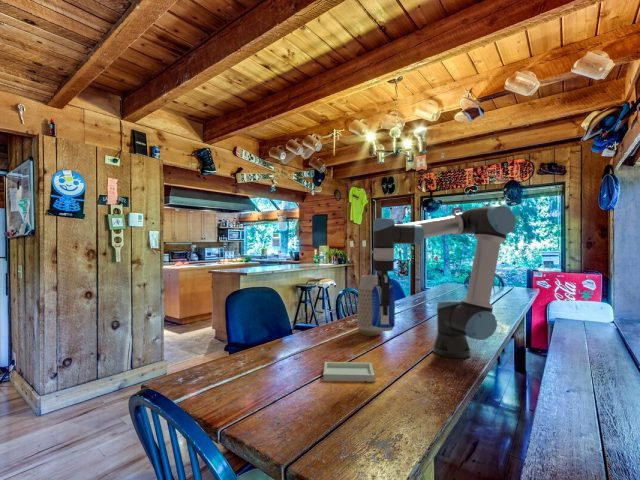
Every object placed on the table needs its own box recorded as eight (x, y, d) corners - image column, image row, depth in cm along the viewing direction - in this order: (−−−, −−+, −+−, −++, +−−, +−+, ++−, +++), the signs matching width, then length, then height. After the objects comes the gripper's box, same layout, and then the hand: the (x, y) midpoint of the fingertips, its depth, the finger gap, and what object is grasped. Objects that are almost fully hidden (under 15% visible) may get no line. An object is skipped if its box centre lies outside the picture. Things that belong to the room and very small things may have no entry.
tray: (371, 368, 129) (371, 362, 129) (374, 381, 117) (374, 375, 117) (324, 367, 130) (324, 361, 130) (323, 380, 118) (323, 374, 118)
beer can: (394, 332, 119) (395, 287, 119) (371, 330, 121) (371, 286, 121) (394, 326, 127) (394, 284, 127) (372, 325, 129) (372, 283, 129)
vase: (387, 332, 180) (386, 275, 180) (377, 338, 169) (376, 277, 169) (363, 328, 188) (363, 274, 188) (352, 334, 176) (352, 276, 176)
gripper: (370, 258, 135) (370, 314, 135) (376, 261, 114) (376, 328, 114) (389, 258, 134) (388, 315, 134) (398, 261, 113) (398, 328, 113)
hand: (383, 321), depth 124 cm, fingers closed on beer can, 8 cm apart
